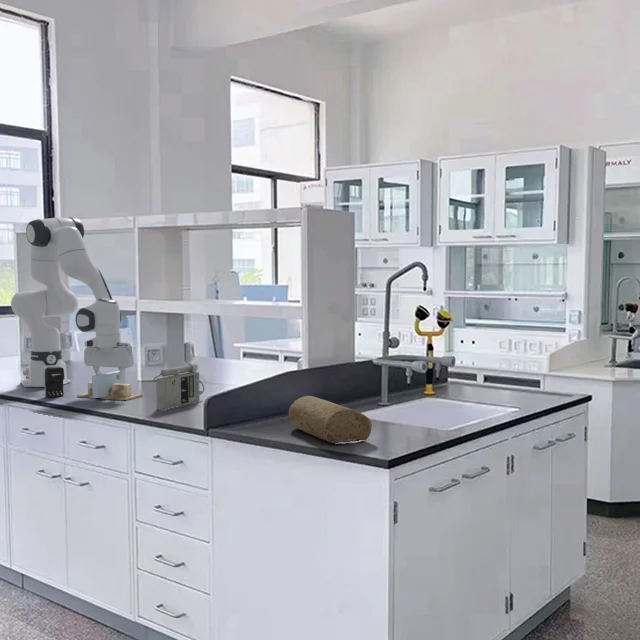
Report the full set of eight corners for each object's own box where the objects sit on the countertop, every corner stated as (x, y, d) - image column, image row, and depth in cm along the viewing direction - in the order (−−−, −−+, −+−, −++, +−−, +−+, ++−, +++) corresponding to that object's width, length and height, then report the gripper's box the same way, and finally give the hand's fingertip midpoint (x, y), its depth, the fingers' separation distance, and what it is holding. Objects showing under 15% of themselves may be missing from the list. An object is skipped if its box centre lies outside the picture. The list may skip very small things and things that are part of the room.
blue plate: (97, 398, 271) (97, 376, 270) (92, 397, 272) (92, 376, 271) (125, 391, 286) (124, 370, 285) (120, 391, 287) (119, 370, 286)
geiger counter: (164, 370, 249) (210, 361, 271) (150, 368, 252) (196, 360, 274) (165, 411, 250) (211, 399, 272) (150, 409, 253) (197, 398, 275)
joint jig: (77, 397, 278) (76, 383, 278) (94, 392, 288) (94, 380, 287) (125, 400, 270) (125, 387, 270) (142, 396, 279) (142, 383, 279)
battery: (47, 398, 276) (47, 367, 275) (43, 397, 278) (42, 366, 278) (66, 396, 280) (65, 366, 279) (62, 395, 283) (61, 365, 282)
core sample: (326, 425, 228) (326, 392, 227) (372, 442, 205) (372, 406, 204) (285, 430, 221) (284, 396, 221) (327, 449, 198) (327, 411, 197)
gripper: (136, 342, 276) (137, 379, 277) (92, 340, 284) (93, 376, 285) (126, 343, 270) (127, 381, 271) (80, 341, 278) (81, 378, 279)
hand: (109, 378), depth 278 cm, fingers open, 8 cm apart
